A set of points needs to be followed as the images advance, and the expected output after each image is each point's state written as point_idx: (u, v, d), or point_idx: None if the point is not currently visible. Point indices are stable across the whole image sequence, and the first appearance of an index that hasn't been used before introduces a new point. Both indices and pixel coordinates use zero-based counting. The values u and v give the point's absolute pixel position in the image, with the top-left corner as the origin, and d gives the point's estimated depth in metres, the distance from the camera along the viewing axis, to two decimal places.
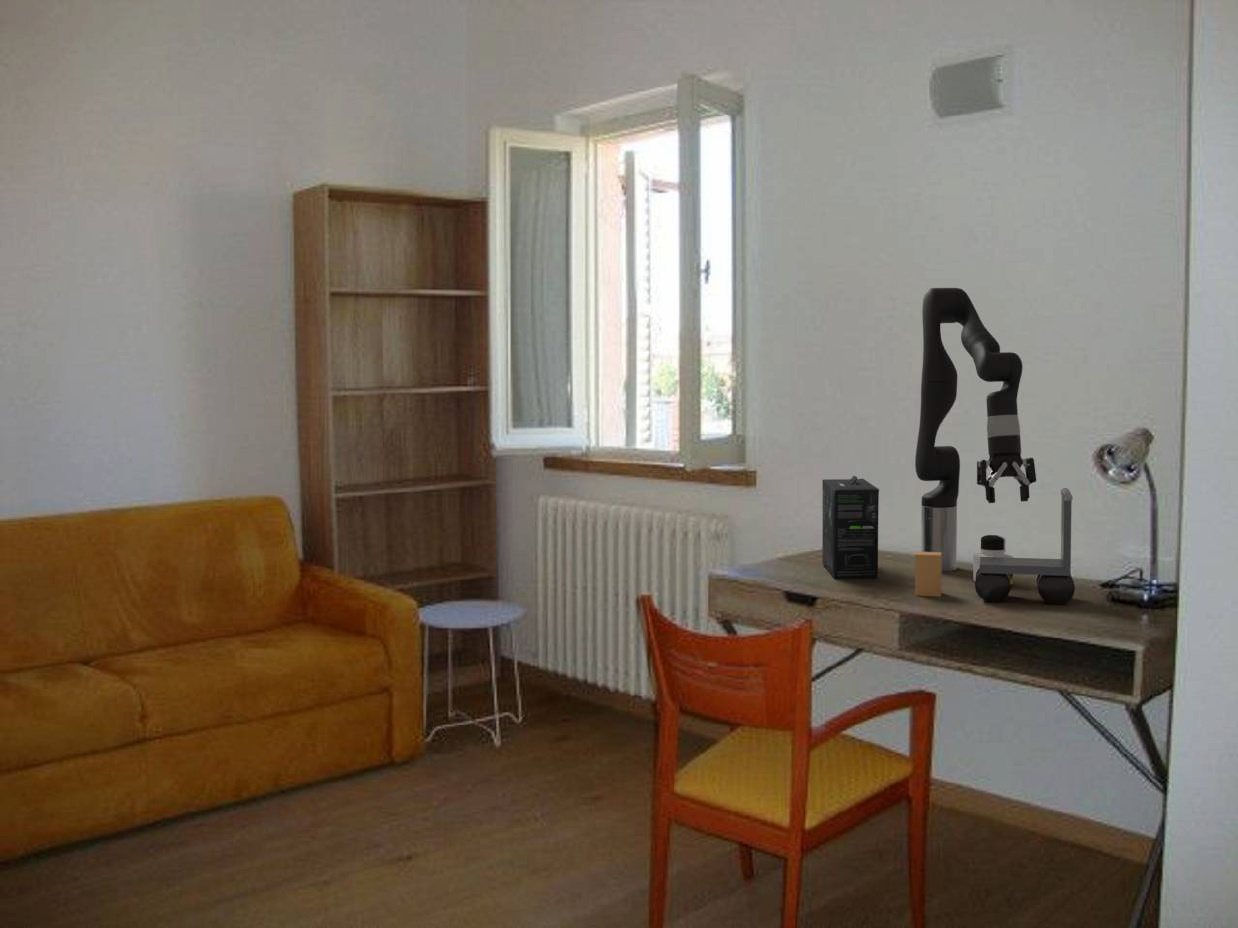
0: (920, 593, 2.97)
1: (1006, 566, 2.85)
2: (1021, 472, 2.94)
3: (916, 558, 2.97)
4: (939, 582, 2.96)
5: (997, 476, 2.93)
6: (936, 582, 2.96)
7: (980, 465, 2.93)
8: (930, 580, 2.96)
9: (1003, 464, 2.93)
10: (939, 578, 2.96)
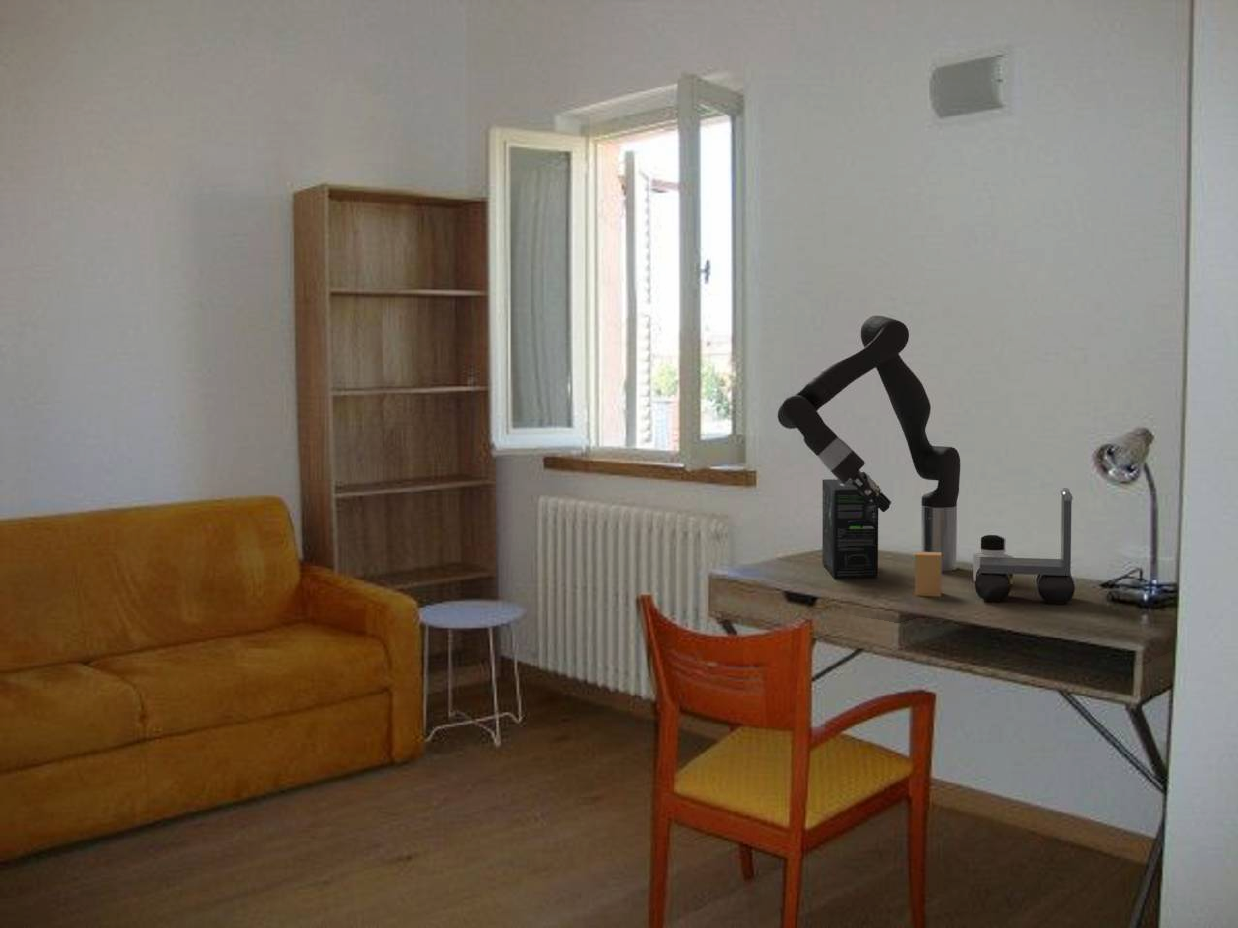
0: (920, 593, 2.97)
1: (1006, 566, 2.85)
2: None
3: (916, 558, 2.97)
4: (939, 582, 2.96)
5: None
6: (936, 582, 2.96)
7: None
8: (930, 580, 2.96)
9: None
10: (939, 578, 2.96)
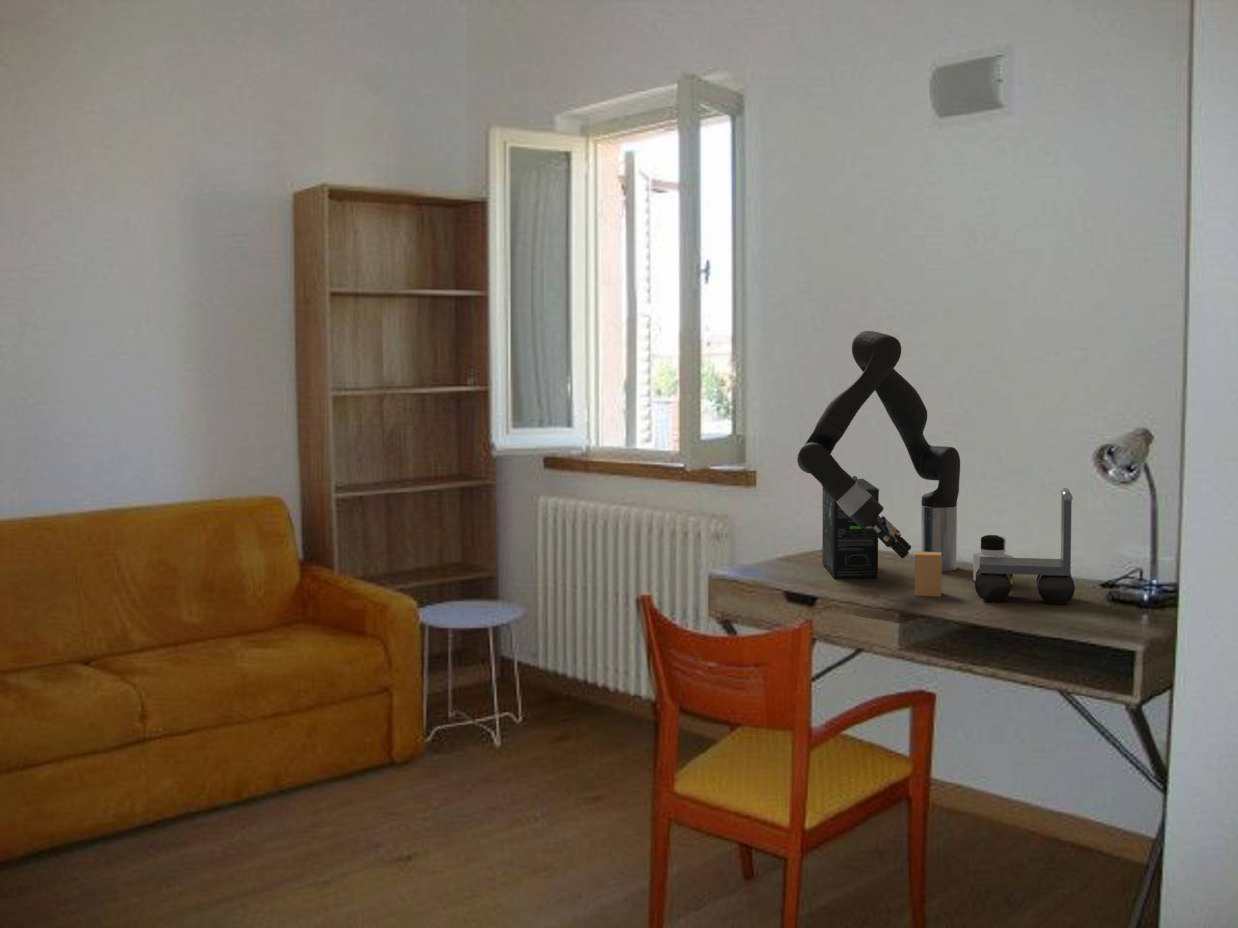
0: (920, 593, 2.97)
1: (1006, 566, 2.85)
2: None
3: (916, 558, 2.97)
4: (939, 582, 2.96)
5: None
6: (936, 582, 2.96)
7: None
8: (930, 580, 2.96)
9: None
10: (939, 578, 2.96)
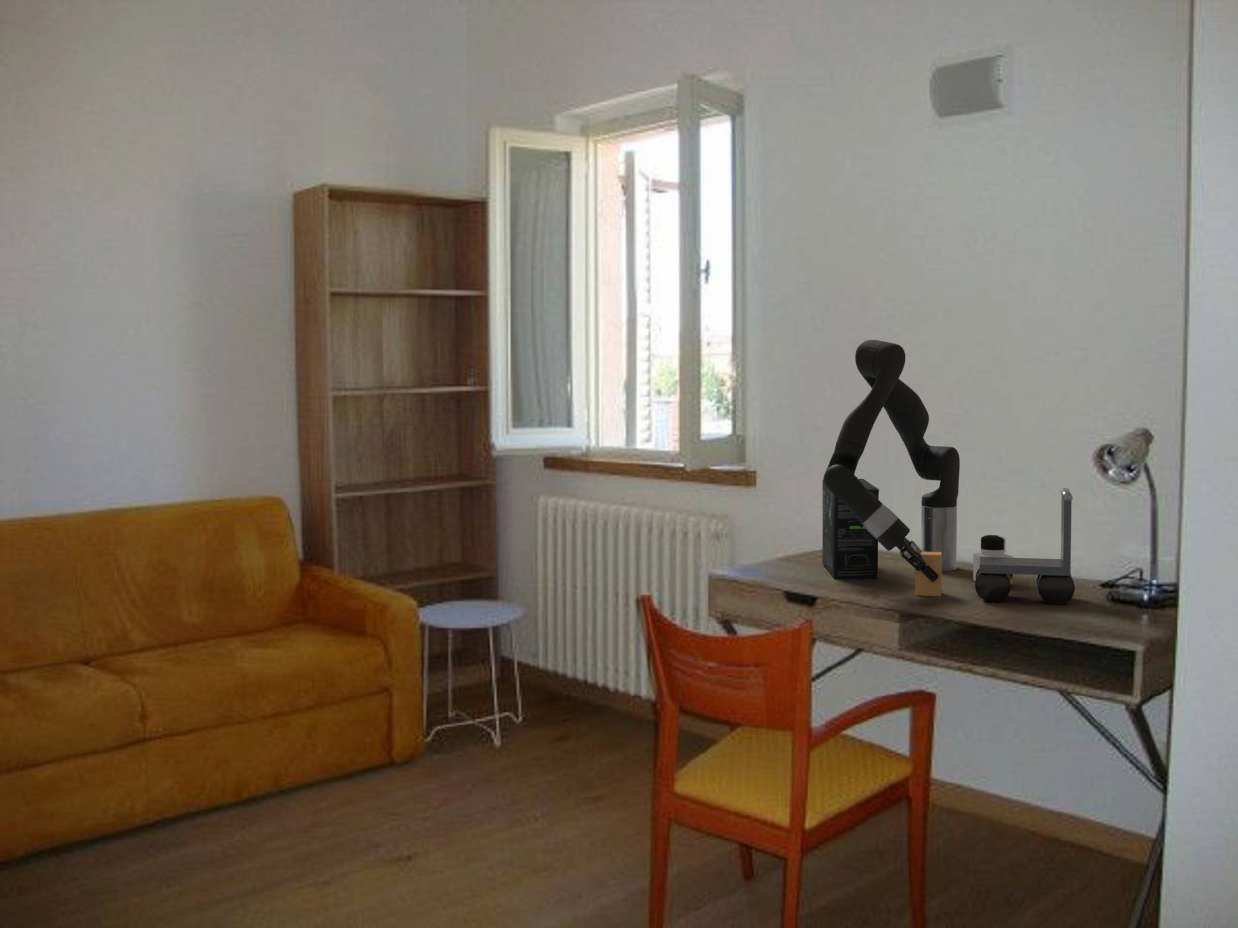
0: (920, 593, 2.97)
1: (1006, 566, 2.85)
2: None
3: None
4: (939, 582, 2.96)
5: None
6: (936, 582, 2.96)
7: None
8: None
9: None
10: (939, 578, 2.96)
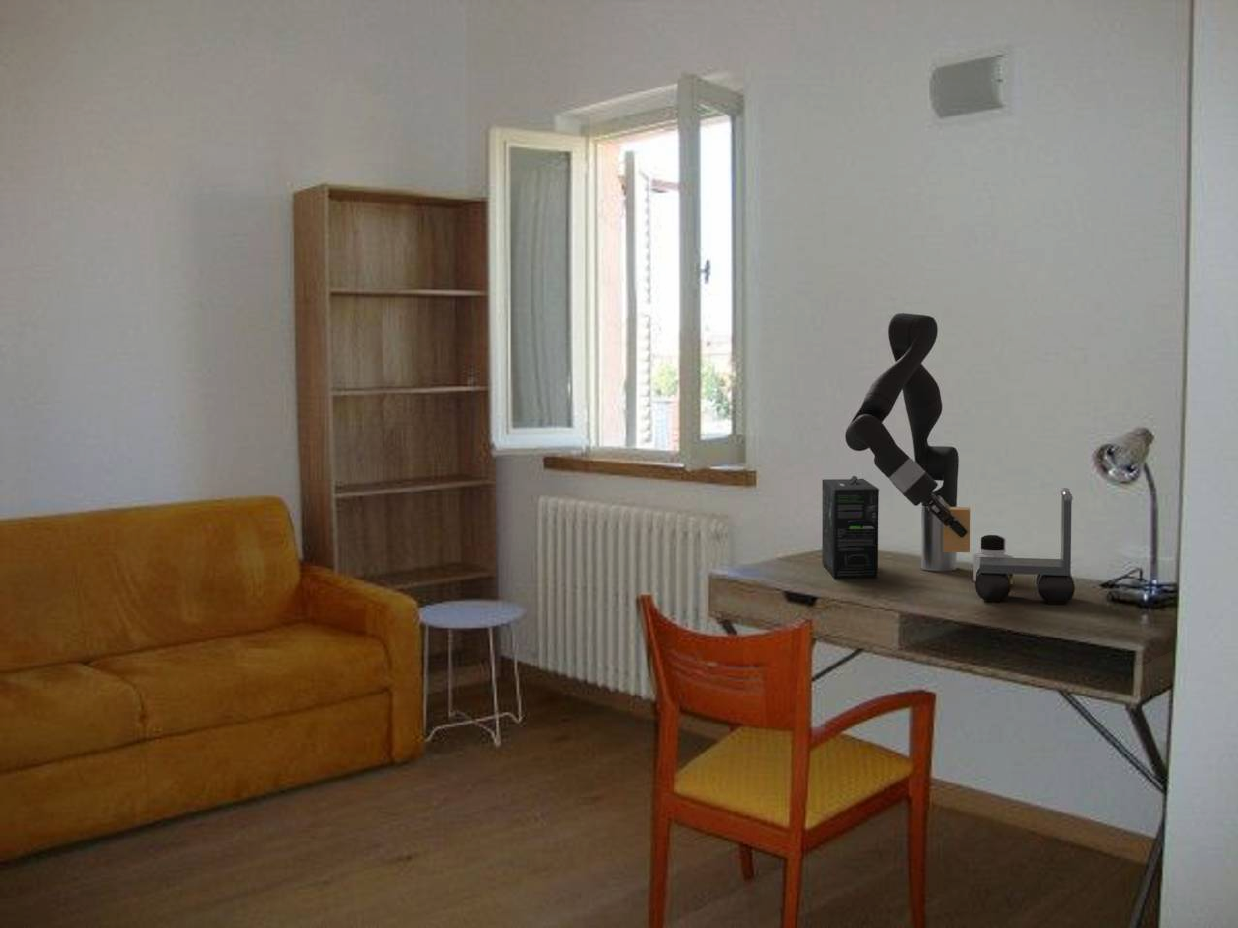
0: (948, 549, 2.88)
1: (1006, 566, 2.85)
2: None
3: None
4: (968, 537, 2.87)
5: None
6: (965, 537, 2.87)
7: None
8: (959, 536, 2.87)
9: None
10: (968, 533, 2.87)
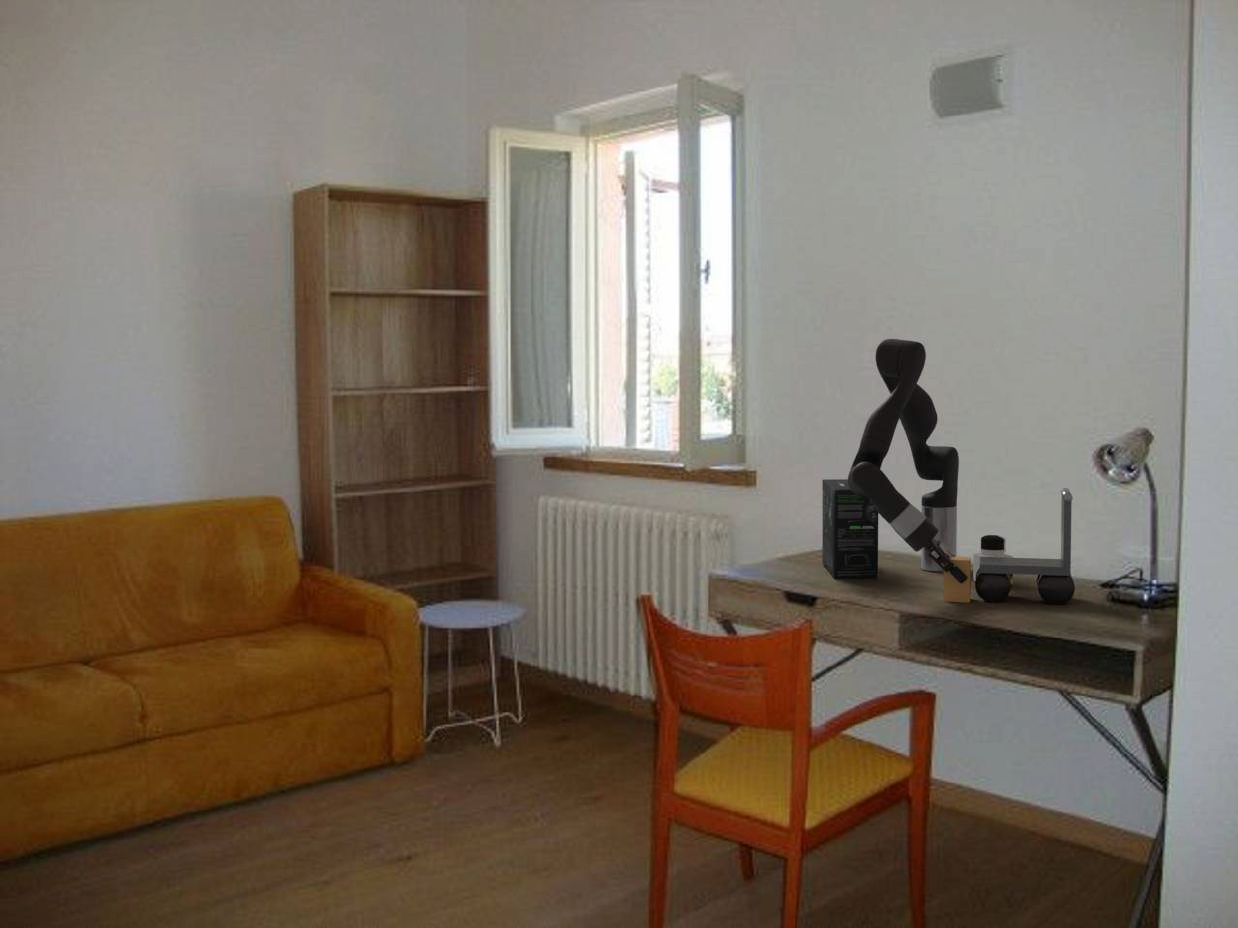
0: (949, 599, 2.90)
1: (1006, 566, 2.85)
2: None
3: None
4: (968, 588, 2.88)
5: None
6: (965, 588, 2.88)
7: None
8: (959, 586, 2.88)
9: None
10: (968, 584, 2.88)
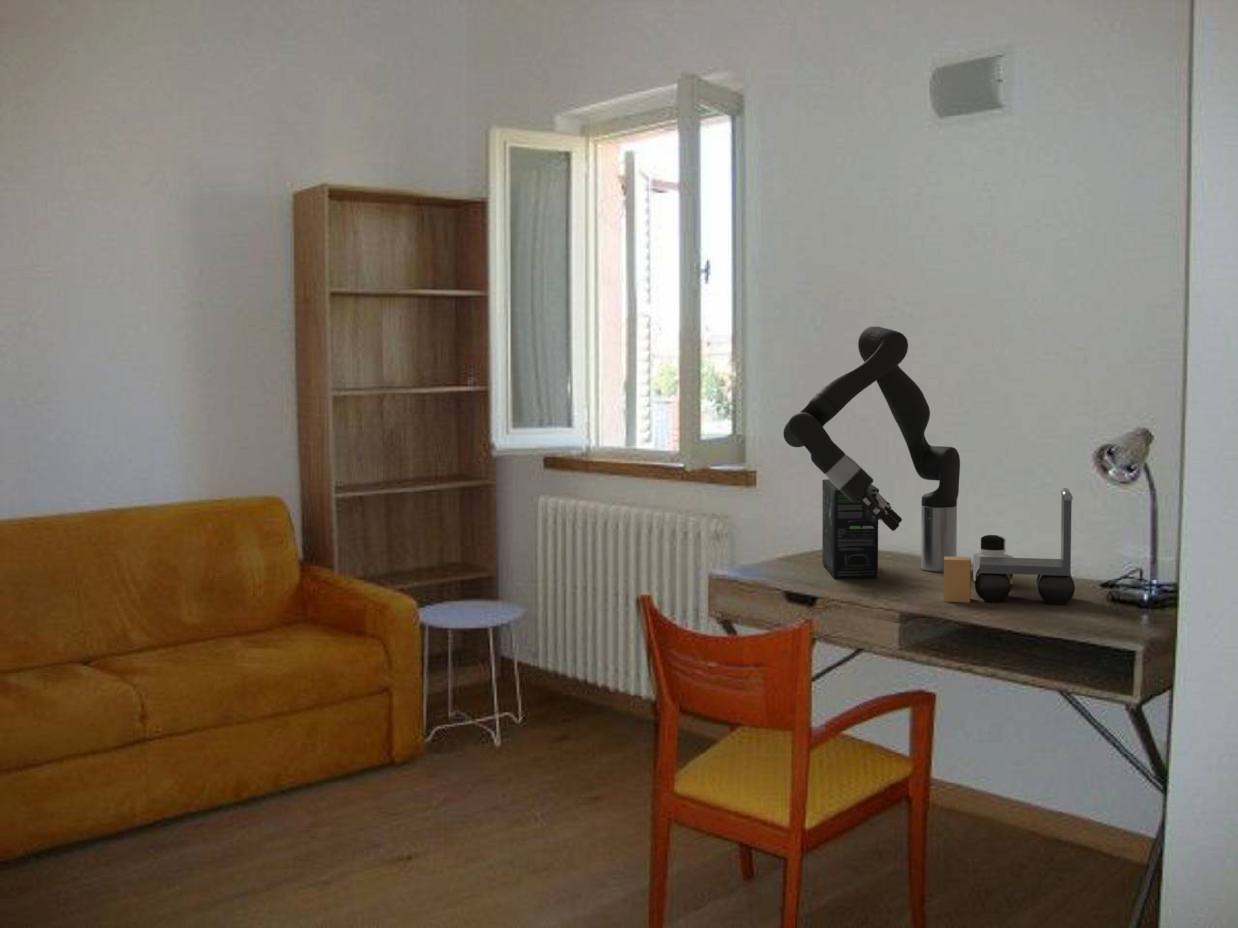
0: (949, 599, 2.90)
1: (1006, 566, 2.85)
2: None
3: (945, 563, 2.89)
4: (968, 588, 2.88)
5: None
6: (965, 588, 2.88)
7: None
8: (959, 586, 2.88)
9: None
10: (968, 584, 2.88)
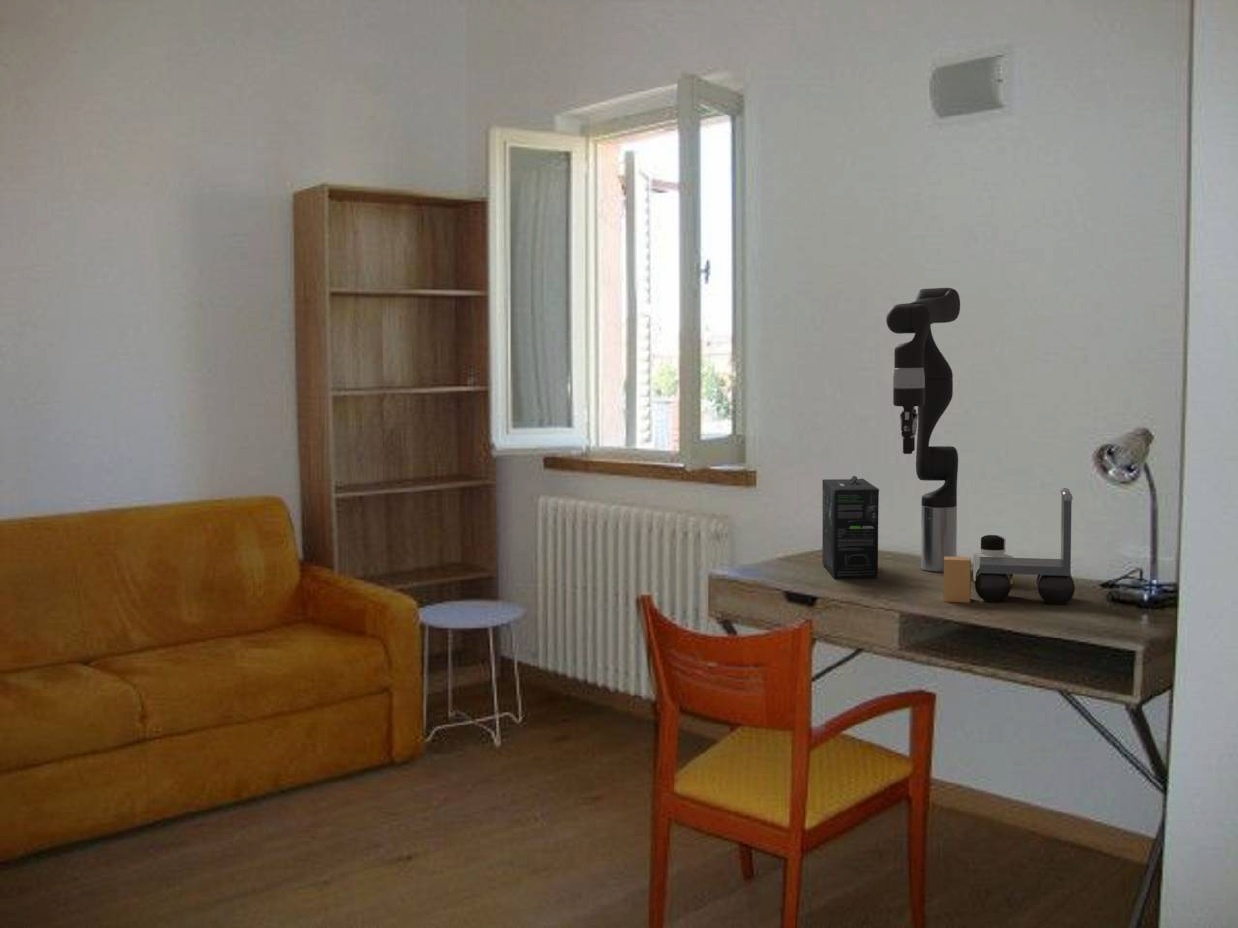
0: (949, 599, 2.90)
1: (1006, 566, 2.85)
2: None
3: (945, 563, 2.89)
4: (968, 588, 2.88)
5: None
6: (965, 588, 2.88)
7: None
8: (959, 586, 2.88)
9: None
10: (968, 584, 2.88)
